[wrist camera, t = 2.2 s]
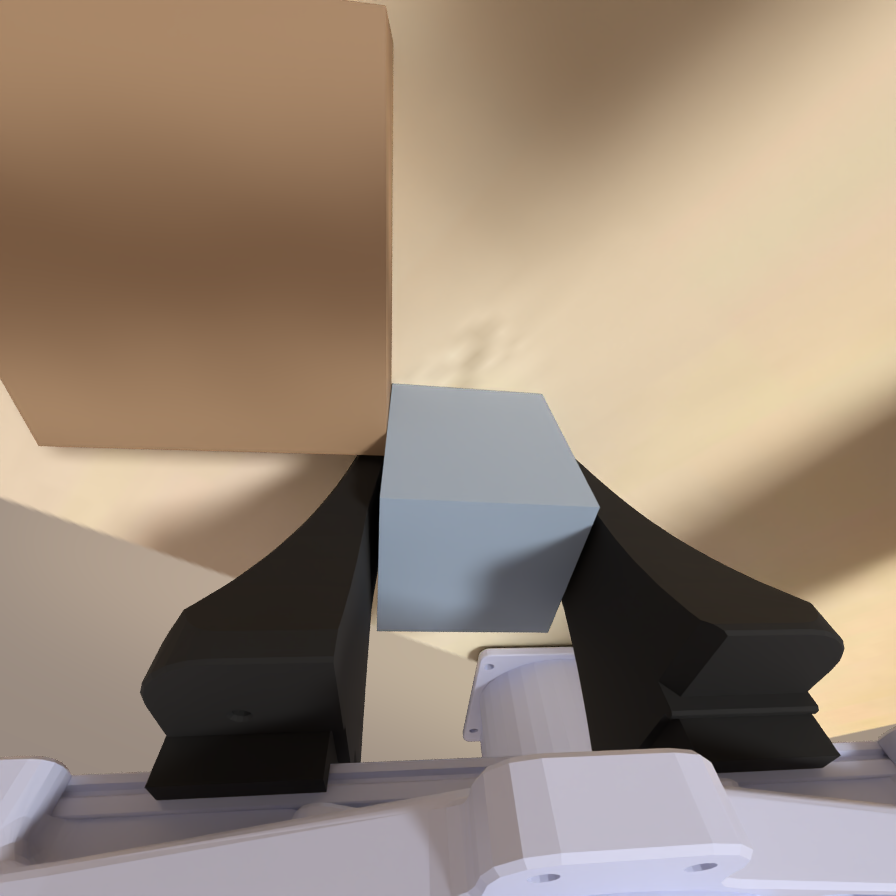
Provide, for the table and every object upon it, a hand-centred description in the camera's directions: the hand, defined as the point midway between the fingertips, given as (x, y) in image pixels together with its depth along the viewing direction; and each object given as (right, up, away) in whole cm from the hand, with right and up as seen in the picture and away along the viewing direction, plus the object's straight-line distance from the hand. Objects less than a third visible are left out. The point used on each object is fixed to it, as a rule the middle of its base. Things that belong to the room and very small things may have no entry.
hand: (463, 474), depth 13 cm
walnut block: (-6, +6, -2) cm, 8 cm away
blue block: (0, +1, +1) cm, 1 cm away
